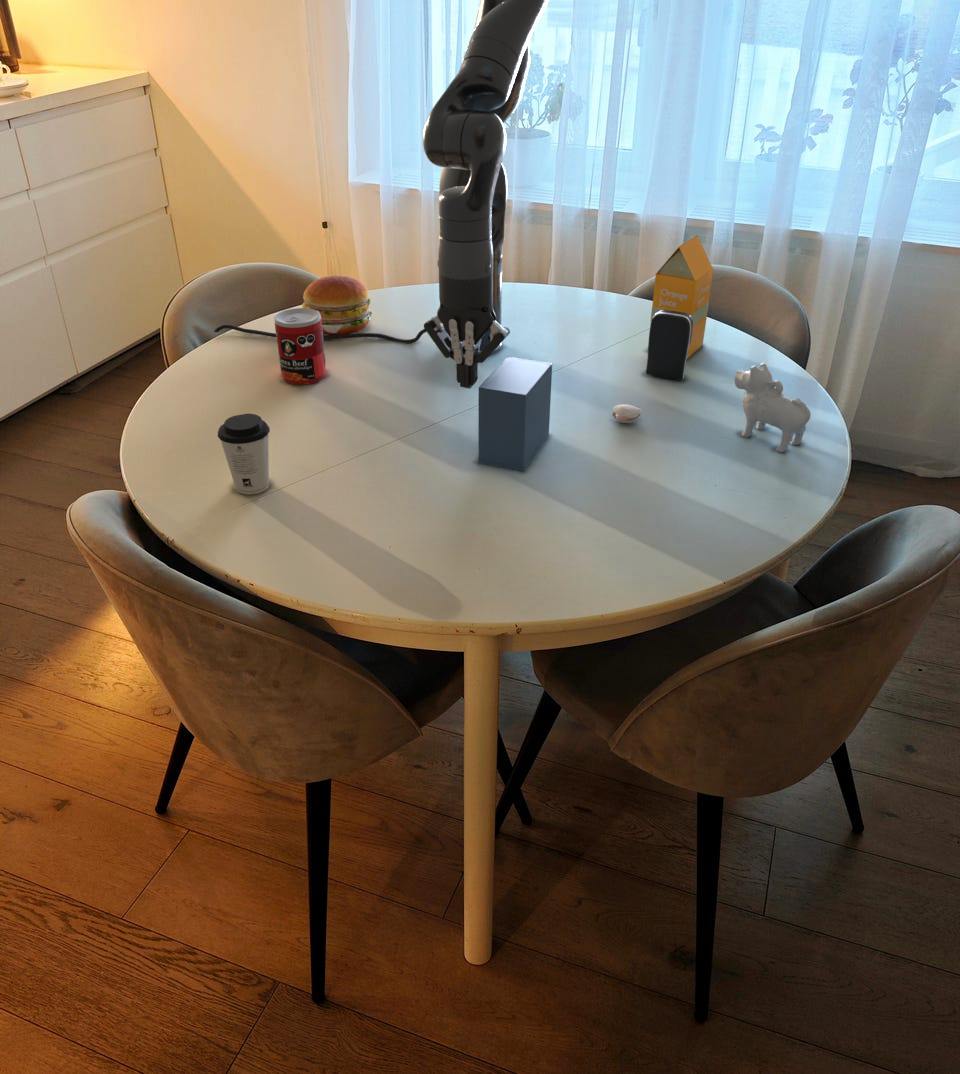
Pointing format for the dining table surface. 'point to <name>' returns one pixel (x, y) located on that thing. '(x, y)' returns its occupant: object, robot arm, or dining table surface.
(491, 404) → the blue open box
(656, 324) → the battery charger
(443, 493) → the dining table surface
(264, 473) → the coffee cup
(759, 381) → the dog figurine
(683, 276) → the orange juice
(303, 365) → the canned food
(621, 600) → the dining table surface
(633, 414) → the cream rounded dome
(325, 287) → the burger
